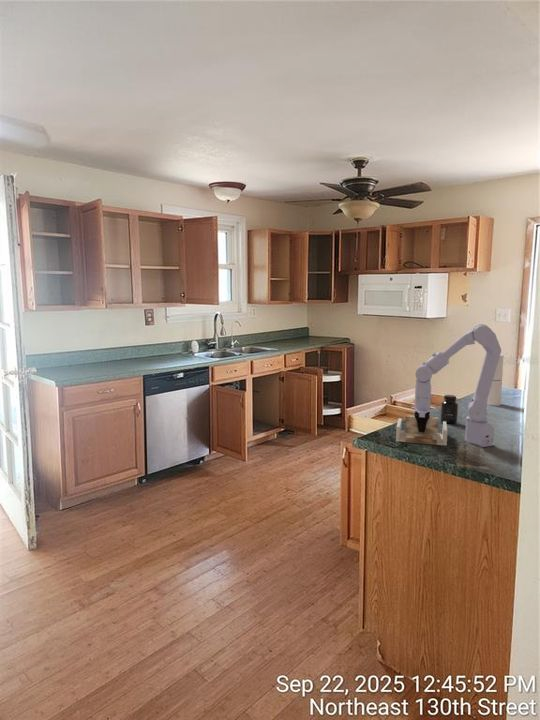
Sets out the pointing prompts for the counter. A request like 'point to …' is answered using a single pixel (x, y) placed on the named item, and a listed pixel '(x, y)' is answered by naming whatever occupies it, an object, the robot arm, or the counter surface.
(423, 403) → the robot arm
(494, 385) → the cylindrical container
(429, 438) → the offcut stack
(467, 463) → the counter surface
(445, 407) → the supplement bottle
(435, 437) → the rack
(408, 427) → the tall sheet
